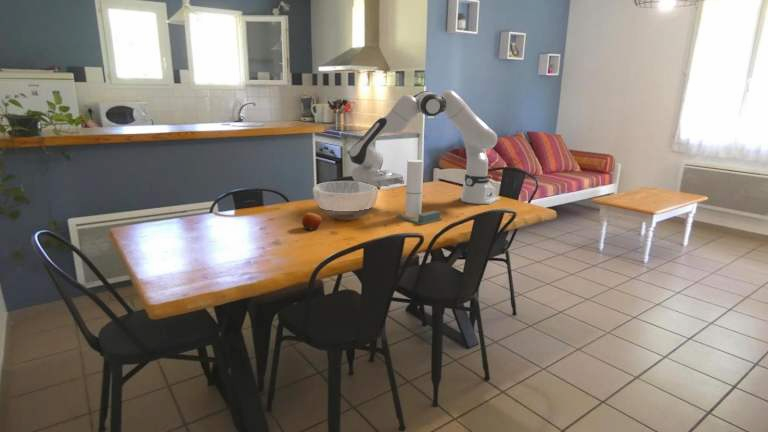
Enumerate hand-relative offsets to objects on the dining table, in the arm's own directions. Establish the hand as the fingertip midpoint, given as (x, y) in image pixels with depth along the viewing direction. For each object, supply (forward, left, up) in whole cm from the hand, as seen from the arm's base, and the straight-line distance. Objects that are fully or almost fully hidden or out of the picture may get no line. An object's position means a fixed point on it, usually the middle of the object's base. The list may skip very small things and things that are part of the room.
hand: (395, 183), depth 216 cm
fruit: (+46, -2, -14) cm, 48 cm away
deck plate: (-1, +15, -14) cm, 21 cm away
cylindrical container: (0, +12, -13) cm, 18 cm away
